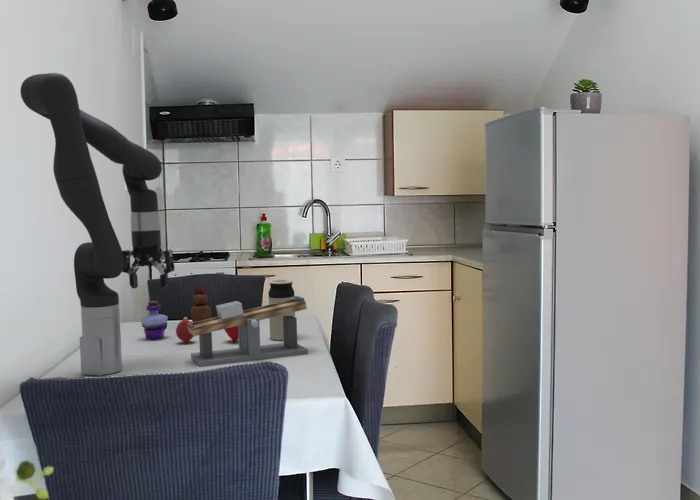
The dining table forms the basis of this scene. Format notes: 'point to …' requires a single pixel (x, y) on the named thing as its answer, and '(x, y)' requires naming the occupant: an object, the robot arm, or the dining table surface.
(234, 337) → the strawberry
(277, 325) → the travel mug
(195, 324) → the beam
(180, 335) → the pomegranate
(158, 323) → the potion bottle
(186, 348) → the dining table surface
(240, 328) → the pivot stand
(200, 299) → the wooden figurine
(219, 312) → the block
